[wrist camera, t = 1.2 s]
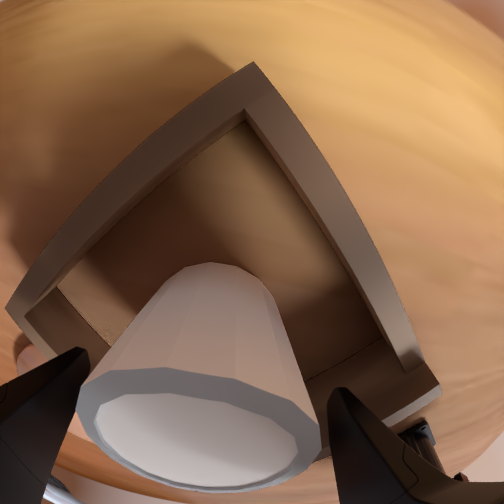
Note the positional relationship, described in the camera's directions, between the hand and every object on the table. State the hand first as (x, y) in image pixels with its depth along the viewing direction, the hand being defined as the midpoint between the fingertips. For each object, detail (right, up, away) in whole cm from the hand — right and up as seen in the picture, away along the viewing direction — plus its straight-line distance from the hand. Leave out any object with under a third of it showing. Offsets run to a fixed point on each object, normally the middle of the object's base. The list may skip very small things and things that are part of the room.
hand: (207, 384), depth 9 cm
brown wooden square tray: (0, +1, +4) cm, 4 cm away
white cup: (0, +2, +4) cm, 4 cm away
